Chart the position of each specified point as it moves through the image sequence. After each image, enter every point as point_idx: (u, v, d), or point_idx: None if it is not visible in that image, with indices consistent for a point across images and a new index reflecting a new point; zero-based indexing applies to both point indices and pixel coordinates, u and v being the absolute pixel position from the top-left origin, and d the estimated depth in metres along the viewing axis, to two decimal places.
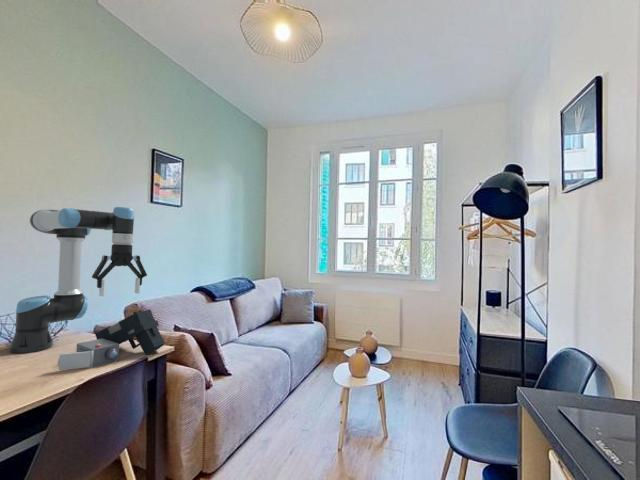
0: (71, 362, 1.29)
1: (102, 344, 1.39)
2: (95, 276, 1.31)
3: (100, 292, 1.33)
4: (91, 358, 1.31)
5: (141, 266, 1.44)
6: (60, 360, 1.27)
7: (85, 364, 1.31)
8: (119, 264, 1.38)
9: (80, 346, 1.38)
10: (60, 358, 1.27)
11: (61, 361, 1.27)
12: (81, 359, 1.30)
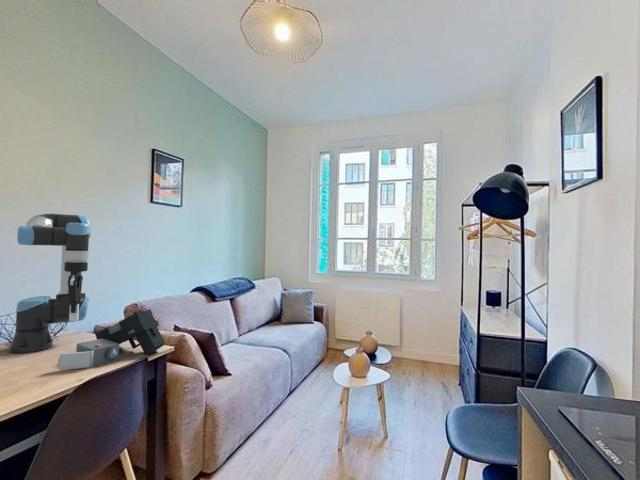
0: (71, 362, 1.29)
1: (102, 344, 1.39)
2: None
3: None
4: (91, 358, 1.31)
5: None
6: (60, 360, 1.27)
7: (85, 364, 1.31)
8: None
9: (80, 346, 1.38)
10: (60, 358, 1.27)
11: (61, 361, 1.27)
12: (81, 359, 1.30)
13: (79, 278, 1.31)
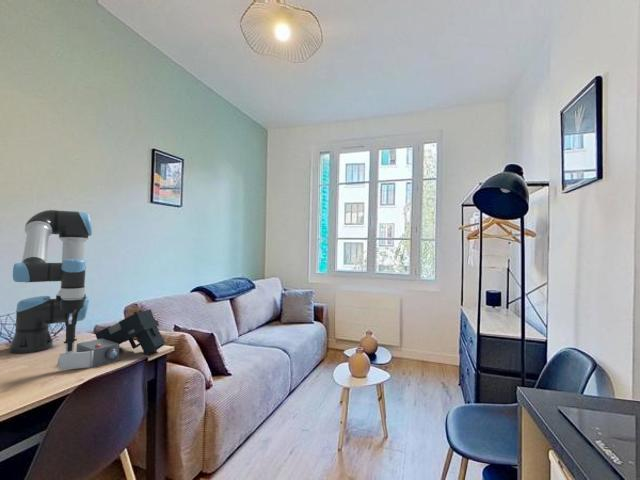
0: (71, 362, 1.29)
1: (102, 344, 1.39)
2: None
3: None
4: (91, 358, 1.31)
5: (66, 331, 1.26)
6: (60, 360, 1.27)
7: (85, 364, 1.31)
8: None
9: (80, 346, 1.38)
10: (60, 358, 1.27)
11: (61, 361, 1.27)
12: (81, 359, 1.30)
13: (76, 316, 1.29)
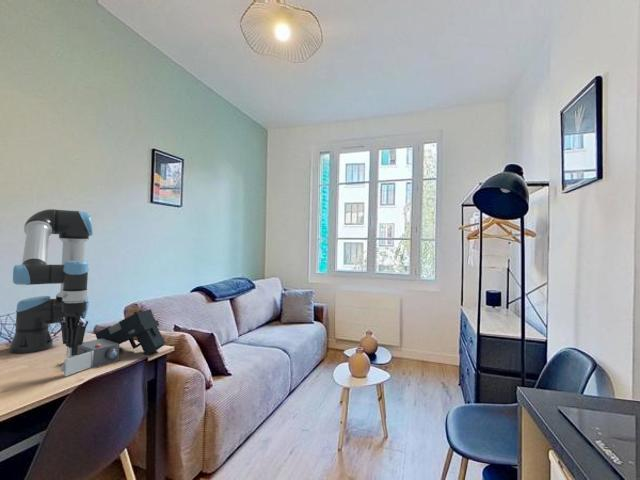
0: (76, 365, 1.25)
1: (102, 344, 1.39)
2: (63, 342, 1.26)
3: None
4: (92, 358, 1.32)
5: (77, 334, 1.24)
6: (67, 365, 1.22)
7: (87, 365, 1.30)
8: (68, 324, 1.26)
9: (80, 346, 1.38)
10: (67, 363, 1.22)
11: (68, 366, 1.22)
12: (84, 360, 1.29)
13: None
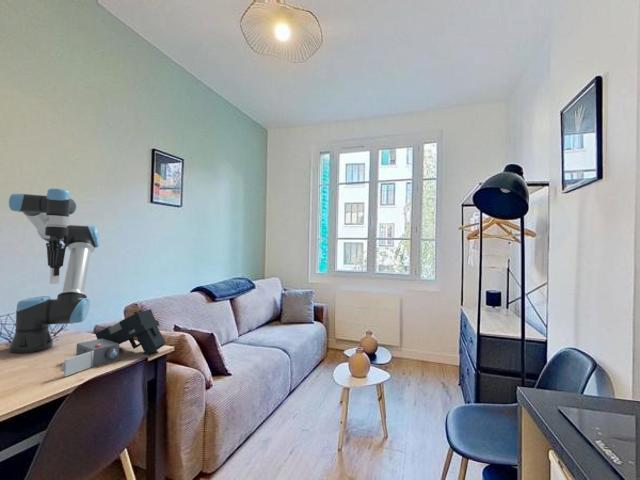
0: (76, 365, 1.25)
1: (102, 344, 1.39)
2: (48, 263, 1.37)
3: None
4: (92, 358, 1.32)
5: (57, 255, 1.34)
6: (67, 365, 1.22)
7: (87, 365, 1.30)
8: None
9: (80, 346, 1.38)
10: (67, 363, 1.22)
11: (68, 366, 1.22)
12: (84, 360, 1.29)
13: (63, 242, 1.37)
